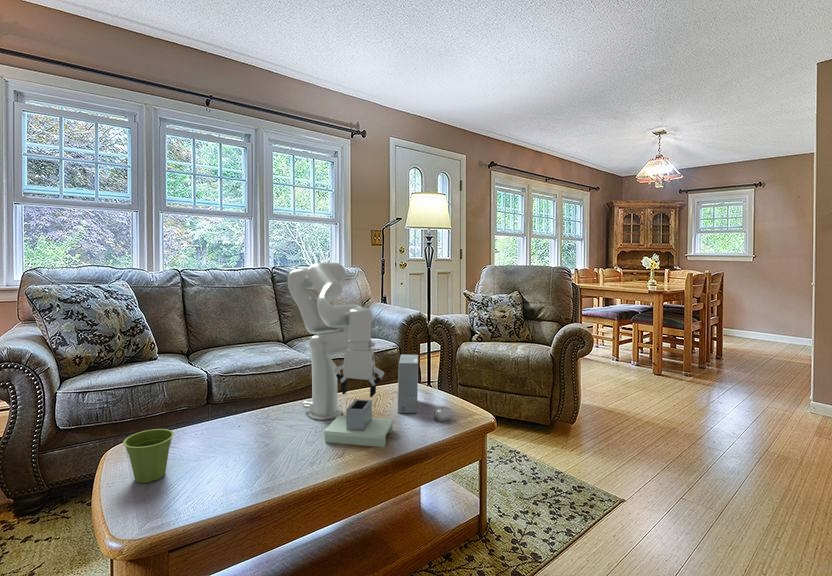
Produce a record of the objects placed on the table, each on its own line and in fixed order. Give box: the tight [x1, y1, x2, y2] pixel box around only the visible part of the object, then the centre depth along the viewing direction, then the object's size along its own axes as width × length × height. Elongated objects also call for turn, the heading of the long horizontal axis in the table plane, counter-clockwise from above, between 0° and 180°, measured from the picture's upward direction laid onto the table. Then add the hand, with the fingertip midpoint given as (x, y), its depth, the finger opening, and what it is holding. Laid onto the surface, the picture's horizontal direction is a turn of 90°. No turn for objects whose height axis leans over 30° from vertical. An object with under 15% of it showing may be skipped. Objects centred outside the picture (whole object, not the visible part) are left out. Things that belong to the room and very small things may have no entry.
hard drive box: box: [397, 354, 419, 414], centre depth 175 cm, size 16×8×20 cm, turn 179°
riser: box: [323, 414, 394, 448], centre depth 147 cm, size 20×14×4 cm
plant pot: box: [122, 428, 175, 484], centre depth 119 cm, size 12×12×11 cm
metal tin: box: [433, 406, 451, 424], centre depth 162 cm, size 6×6×4 cm
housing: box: [345, 398, 373, 431], centre depth 146 cm, size 10×6×7 cm, turn 171°
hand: (358, 394), depth 146 cm, fingers open, 9 cm apart
